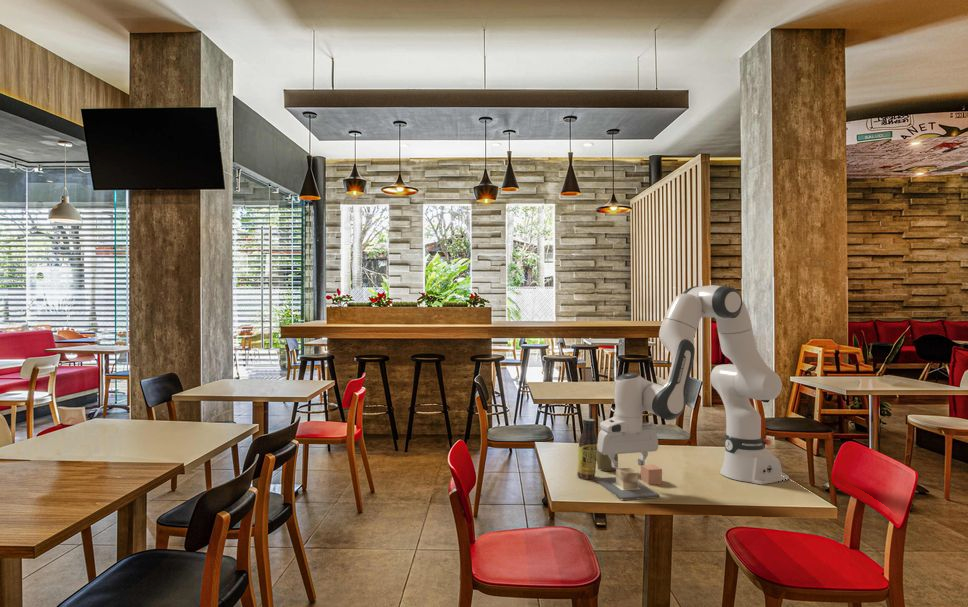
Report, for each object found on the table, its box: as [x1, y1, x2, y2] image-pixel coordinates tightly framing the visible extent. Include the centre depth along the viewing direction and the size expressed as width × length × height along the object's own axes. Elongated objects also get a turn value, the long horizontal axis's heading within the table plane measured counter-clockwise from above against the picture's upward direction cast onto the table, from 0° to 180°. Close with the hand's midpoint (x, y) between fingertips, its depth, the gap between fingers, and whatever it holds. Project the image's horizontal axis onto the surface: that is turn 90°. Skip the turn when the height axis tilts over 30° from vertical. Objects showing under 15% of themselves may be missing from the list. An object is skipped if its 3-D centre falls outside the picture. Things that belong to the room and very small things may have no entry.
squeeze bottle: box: [596, 418, 619, 472], centre depth 190 cm, size 8×8×18 cm
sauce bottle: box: [576, 418, 598, 480], centre depth 181 cm, size 6×6×20 cm
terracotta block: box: [640, 464, 663, 485], centre depth 178 cm, size 5×5×5 cm
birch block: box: [615, 467, 639, 489], centre depth 170 cm, size 5×5×5 cm
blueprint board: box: [595, 476, 660, 500], centre depth 170 cm, size 13×18×1 cm
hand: (628, 466), depth 170 cm, fingers open, 8 cm apart
